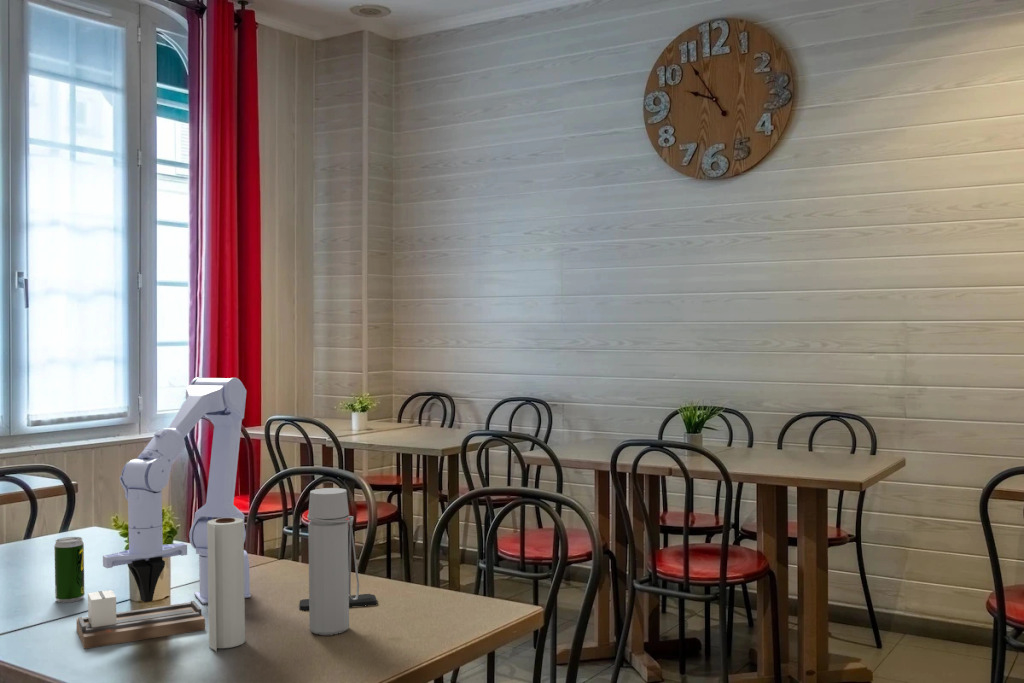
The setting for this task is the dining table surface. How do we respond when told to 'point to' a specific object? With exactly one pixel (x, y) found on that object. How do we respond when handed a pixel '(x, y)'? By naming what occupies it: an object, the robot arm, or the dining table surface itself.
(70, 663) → the dining table surface
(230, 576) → the paper towel roll
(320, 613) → the water bottle
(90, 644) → the console
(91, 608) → the fader knob
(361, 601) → the remote control
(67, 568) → the beer can
